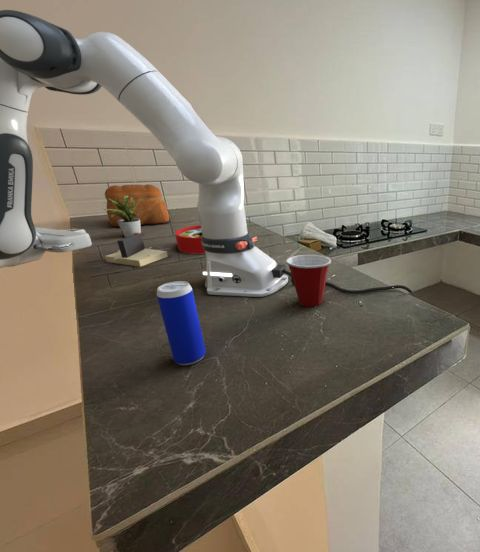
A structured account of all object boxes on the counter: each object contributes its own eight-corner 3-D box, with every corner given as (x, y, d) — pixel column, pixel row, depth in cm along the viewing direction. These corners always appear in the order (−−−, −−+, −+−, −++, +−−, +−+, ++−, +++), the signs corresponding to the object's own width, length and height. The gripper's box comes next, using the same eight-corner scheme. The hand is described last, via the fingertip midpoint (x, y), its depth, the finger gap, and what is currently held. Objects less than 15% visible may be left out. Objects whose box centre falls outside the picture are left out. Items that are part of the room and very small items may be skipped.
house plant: (111, 232, 132) (99, 191, 126) (153, 229, 139) (143, 190, 133) (106, 241, 121) (92, 197, 115) (152, 237, 128) (141, 195, 122)
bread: (171, 224, 148) (163, 186, 141) (110, 229, 135) (97, 188, 129) (168, 216, 160) (160, 181, 154) (111, 221, 148) (100, 183, 142)
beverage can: (211, 350, 64) (197, 280, 58) (197, 367, 59) (180, 293, 53) (184, 349, 64) (167, 279, 58) (168, 366, 59) (147, 292, 53)
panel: (172, 255, 111) (170, 249, 110) (135, 268, 99) (133, 261, 98) (137, 250, 114) (136, 245, 113) (98, 263, 102) (96, 256, 101)
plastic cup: (339, 296, 88) (338, 255, 84) (319, 314, 79) (317, 269, 74) (304, 290, 91) (301, 249, 86) (281, 307, 81) (276, 262, 77)
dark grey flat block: (127, 257, 102) (122, 240, 100) (122, 257, 102) (116, 240, 99) (145, 248, 110) (140, 232, 108) (140, 248, 110) (135, 232, 108)
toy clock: (160, 235, 112) (199, 222, 130) (164, 251, 114) (202, 236, 133) (215, 239, 111) (247, 226, 129) (218, 256, 113) (248, 240, 131)
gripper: (48, 236, 77) (108, 224, 89) (-17, 229, 80) (49, 217, 93) (58, 261, 79) (114, 245, 92) (-5, 253, 83) (57, 238, 95)
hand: (81, 231), depth 92 cm, fingers closed
